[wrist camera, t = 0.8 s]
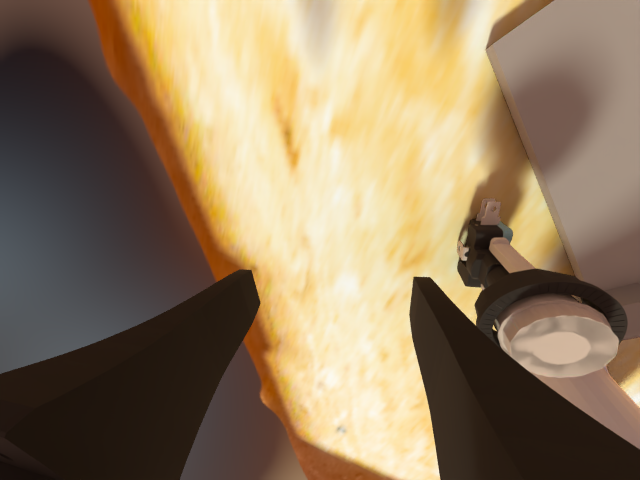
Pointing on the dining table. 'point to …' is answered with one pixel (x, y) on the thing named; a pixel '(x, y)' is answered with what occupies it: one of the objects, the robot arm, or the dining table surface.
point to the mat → (581, 126)
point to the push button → (537, 305)
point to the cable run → (629, 307)
